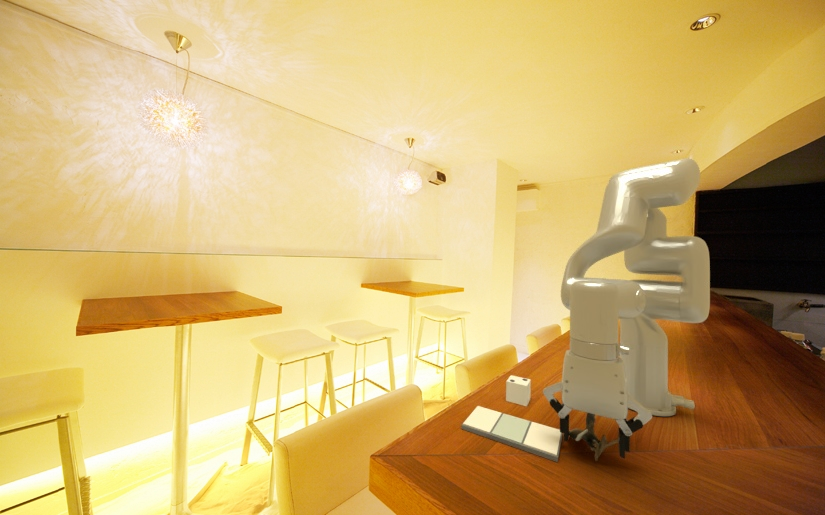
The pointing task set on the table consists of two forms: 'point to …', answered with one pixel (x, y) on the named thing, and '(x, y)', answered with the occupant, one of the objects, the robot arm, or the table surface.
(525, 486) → the table surface
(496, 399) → the table surface
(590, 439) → the eagle figurine
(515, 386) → the die
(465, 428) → the game board
